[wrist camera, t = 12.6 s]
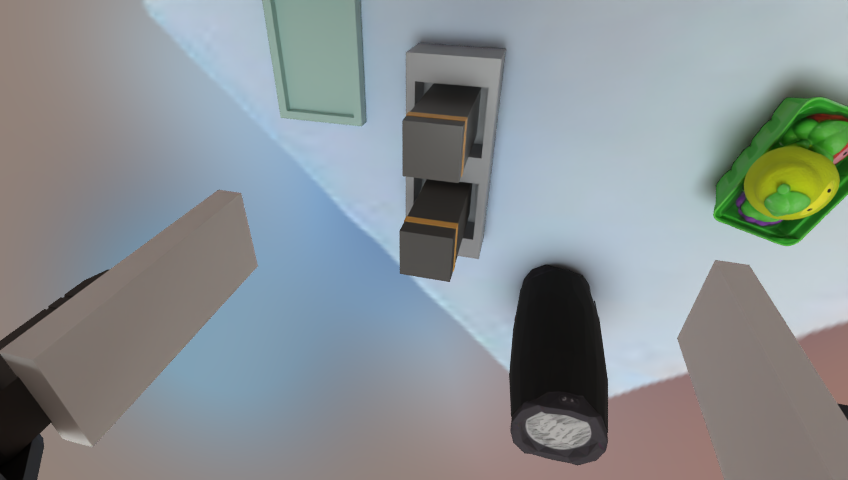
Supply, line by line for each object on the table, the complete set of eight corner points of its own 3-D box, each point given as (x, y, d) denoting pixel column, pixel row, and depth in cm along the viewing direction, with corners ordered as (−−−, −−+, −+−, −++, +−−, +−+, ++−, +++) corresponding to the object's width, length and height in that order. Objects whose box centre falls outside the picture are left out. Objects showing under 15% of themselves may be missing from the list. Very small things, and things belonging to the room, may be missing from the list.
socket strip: (418, 42, 41) (378, 72, 31) (505, 48, 39) (492, 82, 30) (415, 226, 52) (385, 291, 42) (483, 236, 51) (468, 305, 41)
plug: (430, 171, 47) (399, 230, 37) (473, 176, 46) (453, 238, 36) (428, 209, 49) (399, 274, 39) (469, 214, 48) (450, 282, 39)
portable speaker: (512, 311, 56) (496, 456, 40) (526, 251, 50) (515, 390, 34) (581, 326, 54) (595, 482, 38) (604, 265, 49) (630, 417, 33)
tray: (268, -14, 41) (260, -13, 40) (359, -10, 40) (354, -9, 38) (287, 113, 48) (280, 117, 47) (366, 122, 46) (361, 126, 45)
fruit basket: (769, 220, 42) (830, 296, 33) (681, 187, 43) (718, 253, 33) (872, 109, 36) (984, 165, 27) (767, 71, 36) (843, 113, 27)
